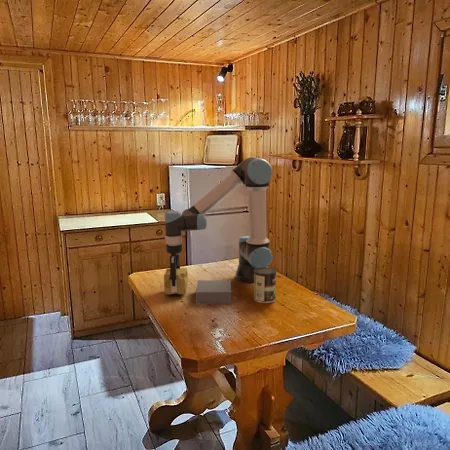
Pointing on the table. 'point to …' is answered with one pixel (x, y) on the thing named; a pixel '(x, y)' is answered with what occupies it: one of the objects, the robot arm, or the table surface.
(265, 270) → the coffee can
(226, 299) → the charcoal block
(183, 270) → the cheese
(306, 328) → the table surface
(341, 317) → the table surface
